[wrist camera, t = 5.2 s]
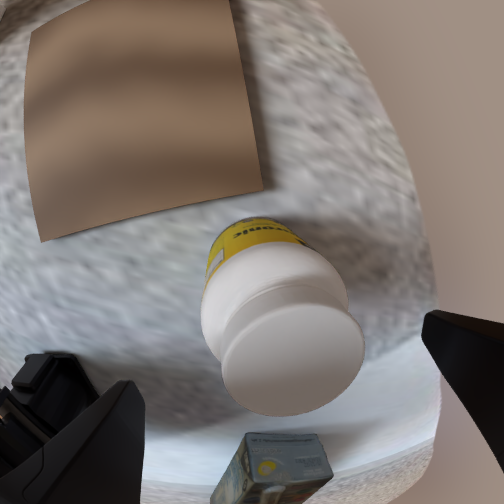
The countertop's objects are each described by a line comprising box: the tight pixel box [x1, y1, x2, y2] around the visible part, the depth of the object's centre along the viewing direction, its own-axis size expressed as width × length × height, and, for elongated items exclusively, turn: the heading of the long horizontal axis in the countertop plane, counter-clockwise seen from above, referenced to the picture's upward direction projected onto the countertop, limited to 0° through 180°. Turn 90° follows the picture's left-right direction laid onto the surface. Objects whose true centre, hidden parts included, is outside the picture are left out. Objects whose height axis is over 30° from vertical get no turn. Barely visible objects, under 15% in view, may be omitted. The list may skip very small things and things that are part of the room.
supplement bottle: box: [201, 217, 365, 416], centre depth 11 cm, size 5×5×10 cm
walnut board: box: [24, 0, 264, 243], centre depth 12 cm, size 16×14×1 cm
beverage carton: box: [210, 433, 334, 504], centre depth 20 cm, size 8×19×7 cm, turn 164°
